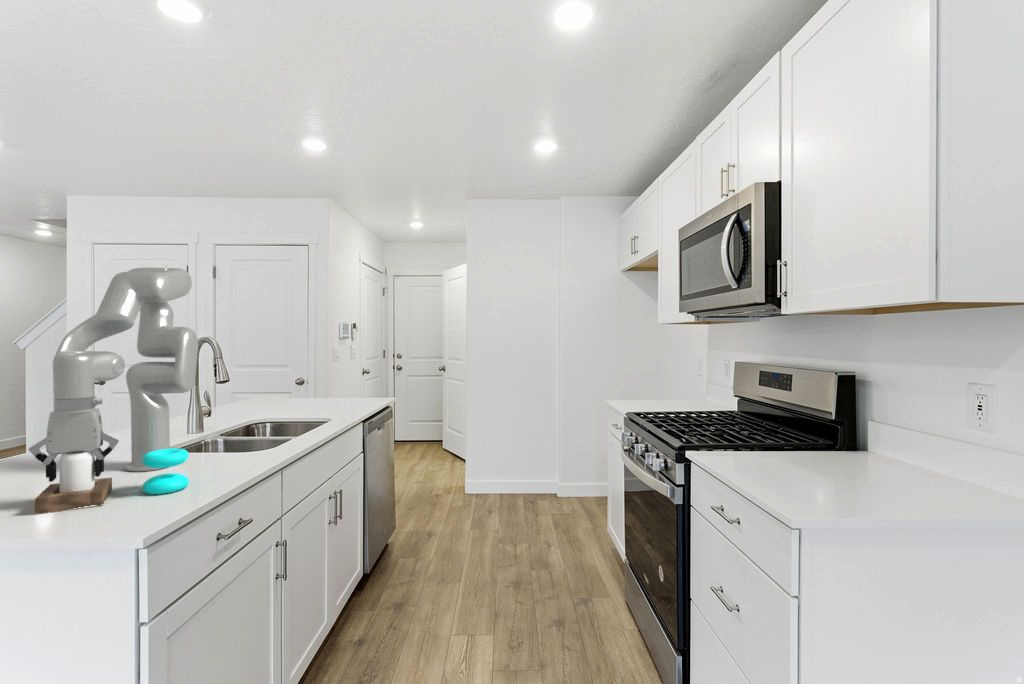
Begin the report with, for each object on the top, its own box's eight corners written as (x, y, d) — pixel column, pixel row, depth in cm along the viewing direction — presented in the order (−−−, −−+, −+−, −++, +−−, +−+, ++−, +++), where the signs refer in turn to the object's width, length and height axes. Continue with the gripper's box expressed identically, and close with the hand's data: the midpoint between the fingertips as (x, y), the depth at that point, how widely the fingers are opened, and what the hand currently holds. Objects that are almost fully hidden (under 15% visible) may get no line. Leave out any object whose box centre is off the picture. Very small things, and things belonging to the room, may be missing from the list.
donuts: (183, 454, 131) (136, 457, 127) (184, 493, 131) (137, 498, 128) (192, 446, 140) (148, 448, 137) (192, 482, 141) (149, 486, 137)
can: (72, 495, 128) (73, 447, 127) (101, 495, 128) (101, 447, 128) (52, 504, 121) (52, 453, 121) (81, 504, 122) (82, 454, 121)
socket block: (112, 490, 133) (111, 477, 133) (102, 505, 122) (102, 491, 122) (50, 498, 127) (50, 484, 127) (35, 514, 116) (34, 499, 116)
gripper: (122, 400, 131) (123, 469, 132) (31, 405, 123) (32, 478, 123) (117, 404, 125) (118, 476, 125) (20, 409, 116) (22, 487, 117)
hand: (75, 477), depth 124 cm, fingers open, 8 cm apart
